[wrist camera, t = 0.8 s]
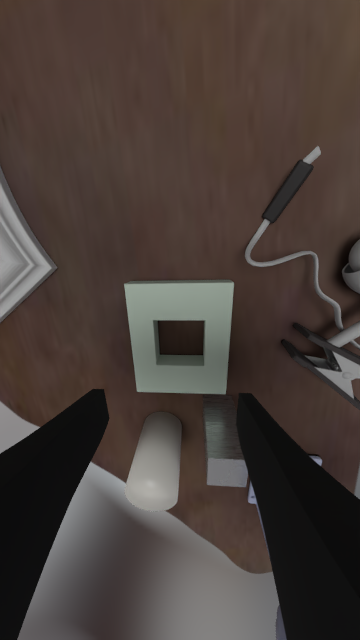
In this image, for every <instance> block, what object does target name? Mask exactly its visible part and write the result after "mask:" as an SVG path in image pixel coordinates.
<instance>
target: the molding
mask: <svg viewBox="0 0 360 640" xmlns="http://www.w3.org/2000/svg"><path fill="white" fill-rule="evenodd" d="M57 268H58V267H57V266H56V265H55V264H54V262H53V261H52V260H51V258H50V257H49V256H48V255H47V253H46V252H45V250H44V249H43V247H42V246H41V245H40V243H39V242H38V240H37V239H36V237H35V236H34V234H33V232H32V231H31V229H30V227H29V226H28V224H27V222H26V220H25V219H24V217H23V215H22V213H21V211H20V209H19V207H18V205H17V203H16V201H15V199H14V197H13V195H12V193H11V191H10V189H9V186H8V184H7V182H6V179H5V177H4V174H3V172H2V169H1V166H0V323H1V322H2V321H3V320H4V319H5V318H6V317H7V316H8V315H9V314H10V313H11V312H12V311H13V310H14V309H15V308H16V307H17V306H18V305H19V304H20V303H22V302H23V301H24V300H25V299H26V298H27V297H28V296H29V295H30V294H31V293H32V292H33V291H34V290H35V289H36V288H37V287H38V286H39V285H40V284H41V283H42V282H43V281H44V280H46V279H47V278H48V277H49V276H50V275H51V274H52V273H53V272H54V271H55V270H56V269H57Z"/></svg>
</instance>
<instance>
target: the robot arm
mask: <svg viewBox="0 0 360 640" xmlns="http://www.w3.org/2000/svg"><path fill="white" fill-rule="evenodd" d="M108 421H109V414H108V409H107V403H106V398H105V393H104V389H92V390H91V391H89V392H88V393H87V394H85V395H84V396H83V397H81V398H80V399H79V400H77V401H76V402H75V403H73V404H72V405H71V406H69V407H68V408H67V409H65V410H64V411H63V412H61V413H60V414H59V415H57V416H56V417H55V418H53V419H52V420H50V421H49V422H47V423H46V424H45V425H43V426H42V427H40V428H39V429H38V430H36V431H35V432H33V433H32V434H30V435H29V436H27V437H26V438H24V439H23V440H21V441H20V442H18V443H17V444H15V445H14V446H12V447H10V448H9V449H7V450H5V451H4V452H2V453H1V454H0V640H17V638H18V636H19V633H20V630H21V627H22V624H23V621H24V619H25V616H26V613H27V610H28V607H29V605H30V602H31V599H32V597H33V594H34V592H35V589H36V586H37V583H38V581H39V578H40V576H41V573H42V570H43V567H44V565H45V563H46V560H47V557H48V555H49V552H50V550H51V547H52V545H53V542H54V540H55V537H56V535H57V532H58V530H59V528H60V525H61V523H62V520H63V518H64V516H65V513H66V511H67V508H68V506H69V504H70V501H71V499H72V497H73V495H74V493H75V491H76V489H77V487H78V485H79V483H80V481H81V479H82V477H83V475H84V473H85V471H86V469H87V467H88V465H89V463H90V461H91V459H92V458H93V456H94V454H95V452H96V450H97V448H98V446H99V444H100V442H101V439H102V437H103V435H104V432H105V429H106V427H107V424H108ZM236 426H237V432H238V437H239V442H240V447H241V450H242V453H243V457H244V460H245V464H246V467H247V470H248V474H249V477H250V486H249V493H248V502H249V503H252V504H256V506H257V510H258V514H259V518H260V522H261V526H262V530H263V534H264V537H265V541H266V545H267V549H268V553H269V557H270V561H271V565H272V570H273V574H274V579H275V584H276V589H277V593H278V598H279V604H280V605H279V606H278V610H277V619H276V640H360V499H358V498H357V497H356V496H355V495H353V494H352V493H351V492H350V491H348V490H347V489H346V488H345V487H344V486H342V485H341V484H340V483H339V482H338V481H337V480H335V479H334V478H333V477H332V476H331V475H330V474H329V473H328V472H326V471H325V470H324V469H323V468H322V467H321V464H322V460H321V458H320V457H319V456H309V455H308V454H307V453H306V452H305V451H304V450H303V449H302V448H301V447H300V446H299V445H298V444H297V443H296V442H295V441H294V440H293V439H292V438H291V437H290V436H289V435H288V434H287V433H286V432H285V431H284V430H283V429H282V428H281V427H280V426H279V424H278V423H277V422H276V421H275V420H274V419H273V418H272V417H271V416H270V414H269V413H268V412H267V411H266V410H265V409H264V408H263V406H262V405H261V404H260V403H259V402H258V401H257V399H256V398H255V397H254V396H253V395H252V394H251V393H239V399H238V409H237V418H236Z"/></svg>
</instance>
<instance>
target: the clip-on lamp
mask: <svg viewBox="0 0 360 640" xmlns="http://www.w3.org/2000/svg"><path fill="white" fill-rule="evenodd" d="M320 154H321V152H320V149H319V147H318V146H317V147H316V148H315V149H314V150H313V151H312V152H311V153H310V154H309V155H308V156H307V157H306V158H305V159H304V160H299V161H298V162H297V164H296V165H295V167H294V168H293V170H292V171H291V173H290V174H289V176H288V177H287V179H286V180H285V182H284V183H283V185H282V186H281V188H280V189H279V191H278V192H277V194H276V195H275V197H274V198H273V200H272V201H271V203H270V204H269V206H268V207H267V209H266V211H265V212H264V214H263V218H265V219H264V221H263V223H262V224H261V226H260V227H259V229H258V230H257V232H256V233H255V235H254V236H253V238H252V239H251V241H250V243H249V244H248V246H247V248H246V251H245V258H246V260H247V262H248V263H249V264H251V265H253V266H258V267H265V266H272V265H276V264H279V263H283V262H285V261H288V260H291V259H294V258H296V257H299V256H302V255H307V254H310V255H312V258H313V262H314V287H315V291H316V293H317V294H318V296H320V297H321V298H322V299H324V300H325V301H327V302H328V303H330V304H331V305H332V306H333V307H334V317H335V323H336V325H337V327H338V329H339V331H340V333H338V334H337V335H335V336H333V337H332V338H330V339H328V340H326V339H325V338H323V337H321V336H319V335H317V334H315V333H313V332H311V331H309V330H308V329H306V328H305V327H303V326H301V325H299V324H298V323H296V322H295V323H294V325H293V326H294V327H295V328H296V329H297V330H298V331H299V332H300V333H302V334H303V335H304V336H305V337H306V338H307V339H309V340H310V341H312V342H314V343H316V344H317V345H319V346H321V347H323V349H324V351H325V353H326V355H327V357H328V359H323V358H317V357H312V356H306V355H303V354H302V353H301V352H300V351H298V350H297V349H296V348H295V347H294V346H293V345H292V344H291V343H289V342H288V341H286V340H285V339H284V340H283V341H282V344H283V345H284V347H285V348H286V350H287V351H288V353H289V354H290V356H291V357H292V358H293V359H294V360H295V361H296V362H298V363H299V364H300V365H302V366H303V367H307V368H308V369H309V370H311V371H312V372H313V373H314V374H316V375H317V376H318V377H319V378H320V379H322V380H323V381H324V382H325V383H327V384H328V385H329V386H330V387H332V388H333V389H334V390H335V391H337V392H338V393H339V394H340V395H341V396H343V397H344V398H345V399H346V400H348V401H349V402H350V403H351V404H353V405H354V406H355V407H356V408H358V409H359V410H360V401H359V400H358V399H357V398H356V397H355V396H354V395H353V390H352V385H351V380H353V379H354V378H360V356H358V355H356V354H354V353H352V352H350V351H348V350H346V349H344V348H342V347H341V346H343V345H345V344H347V343H348V342H350V343H351V344H352V345H354V346H355V347H356V348H358V349H359V350H360V345H359V344H357V343H356V342H355V341H354V339H355V338H357V337H359V336H360V321H358V322H357V323H355V324H353V325H352V326H350V327H348V328H347V329H345V330H344V328H343V326H342V322H341V309H340V306H339V304H338V303H337V302H335V301H334V300H332V299H331V298H329V297H327V296H326V295H325V294H323V293H322V291H321V290H320V288H319V284H318V257H317V254H315V253H313V252H312V251H301V252H298V253H295V254H291V255H289V256H286V257H283V258H280V259H277V260H274V261H270V262H263V263H262V262H255V261H253V260H252V259H251V258H250V252H251V250H252V248H253V247H254V245H255V244H256V242H257V241H258V239H259V238H260V236H261V235H262V234H263V232H264V231H265V229H266V228H267V226H268V225H269V223H270V222H271V223H274V222H275V221H276V220H277V218H278V217H279V216H280V214H281V213H282V212H283V210H284V209H285V207H286V206H287V205H288V203H289V202H290V201H291V199H292V198H293V196H294V195H295V194H296V192H297V191H298V190H299V188H300V187H301V185H302V184H303V183H304V181H305V180H306V179H307V177H308V176H309V174H310V173H311V172H312V170H313V168H314V167H313V165H311V163H312V162H313V161H314V160H315V159H316V158H317V157H318V156H319V155H320ZM342 275H343V279H344V281H345V283H346V284H347V285H348V286H349V287H350V288H351V289H352V290H354V291H355V292H357V293H359V294H360V239H359V240H358V241H357V242H356V243H355V244H354V246H353V247H352V249H351V251H350V253H349V263H348V264H347V265H345V267H344V268H343V270H342Z"/></svg>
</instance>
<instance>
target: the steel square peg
mask: <svg viewBox="0 0 360 640" xmlns="http://www.w3.org/2000/svg"><path fill="white" fill-rule="evenodd" d="M236 418H237V413H236V409H235V406H234V402H233V399H232V395H203V430H204V446H205V462H206V477H207V485H218V486H235V487H246V483H247V477H248V470H247V467H246V464H245V460H244V457H243V453H242V450H241V447H240V442H239V437H238V432H237V426H236Z"/></svg>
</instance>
